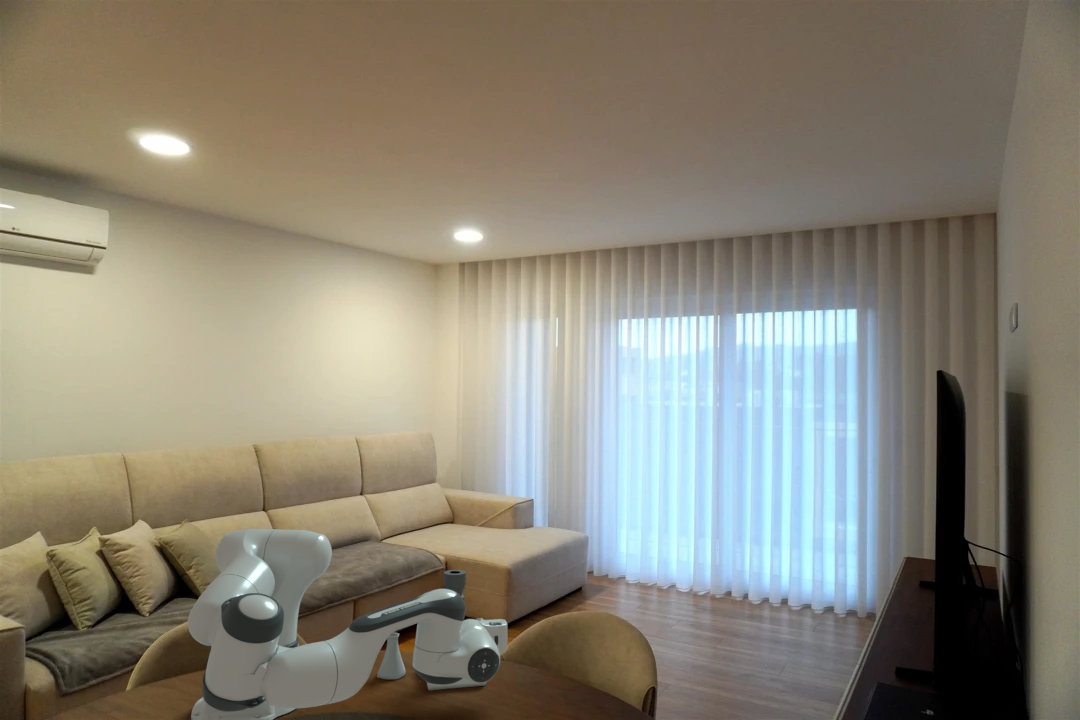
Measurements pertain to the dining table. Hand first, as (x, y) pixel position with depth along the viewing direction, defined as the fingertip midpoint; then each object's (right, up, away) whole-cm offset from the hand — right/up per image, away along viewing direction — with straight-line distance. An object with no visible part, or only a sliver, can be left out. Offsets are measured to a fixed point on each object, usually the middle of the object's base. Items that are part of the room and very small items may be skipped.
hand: (460, 622), depth 172 cm
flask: (-18, -15, +4) cm, 23 cm away
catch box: (-2, -15, +3) cm, 15 cm away
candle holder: (-2, -15, +4) cm, 15 cm away
